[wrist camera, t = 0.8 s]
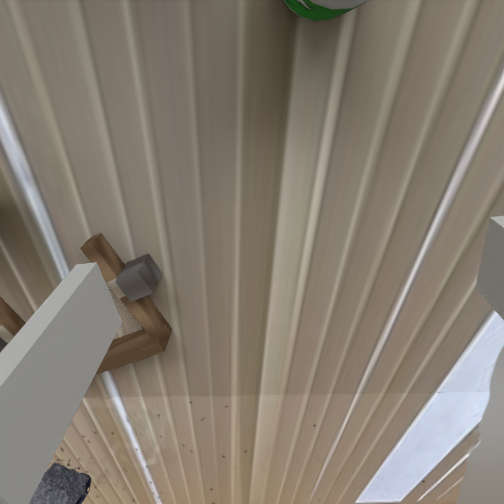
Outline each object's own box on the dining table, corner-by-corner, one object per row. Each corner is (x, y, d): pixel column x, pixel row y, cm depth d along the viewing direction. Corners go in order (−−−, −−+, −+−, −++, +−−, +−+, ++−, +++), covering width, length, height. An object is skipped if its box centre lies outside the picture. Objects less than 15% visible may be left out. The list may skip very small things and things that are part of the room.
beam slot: (-41, 297, 45) (-67, 317, 42) (126, 221, 39) (112, 237, 36) (41, 375, 52) (25, 398, 49) (195, 320, 46) (189, 342, 43)
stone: (65, 526, 66) (44, 568, 56) (17, 502, 65) (-14, 541, 55) (102, 465, 68) (87, 496, 58) (55, 441, 67) (32, 468, 57)
